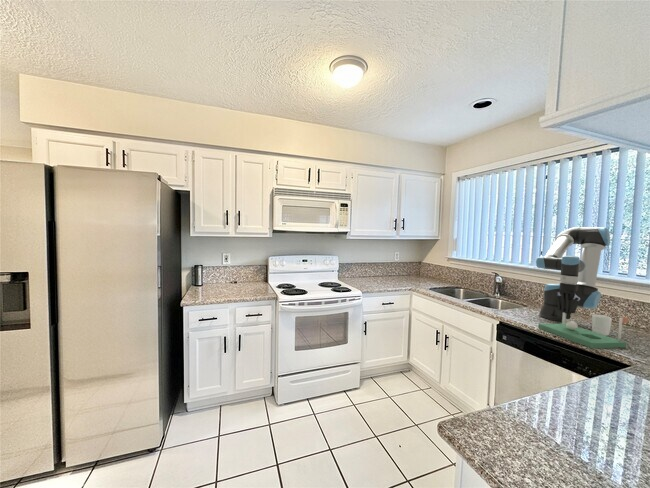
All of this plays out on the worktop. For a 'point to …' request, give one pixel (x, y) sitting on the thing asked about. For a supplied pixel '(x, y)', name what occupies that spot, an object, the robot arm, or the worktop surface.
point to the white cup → (601, 324)
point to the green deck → (586, 335)
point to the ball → (571, 325)
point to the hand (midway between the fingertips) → (565, 324)
